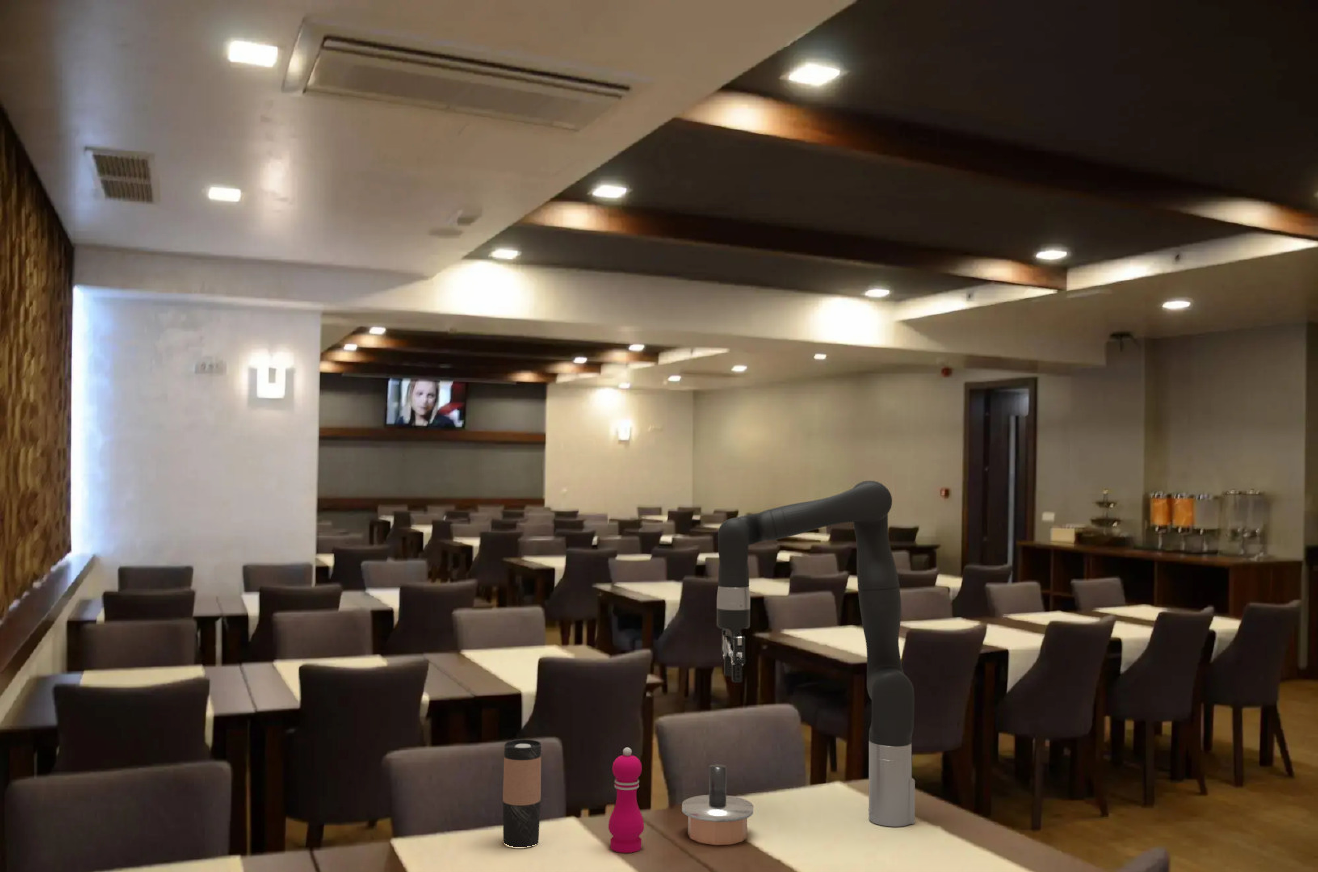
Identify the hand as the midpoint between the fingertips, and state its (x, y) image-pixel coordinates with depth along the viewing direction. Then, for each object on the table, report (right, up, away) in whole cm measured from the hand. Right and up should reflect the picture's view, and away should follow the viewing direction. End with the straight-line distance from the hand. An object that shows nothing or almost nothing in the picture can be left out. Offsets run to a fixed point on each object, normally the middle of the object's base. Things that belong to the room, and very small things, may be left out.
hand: (733, 678), depth 238 cm
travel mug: (-45, -28, -23) cm, 58 cm away
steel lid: (-4, -24, -16) cm, 29 cm away
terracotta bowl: (-4, -29, -16) cm, 34 cm away
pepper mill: (-23, -29, -25) cm, 45 cm away
